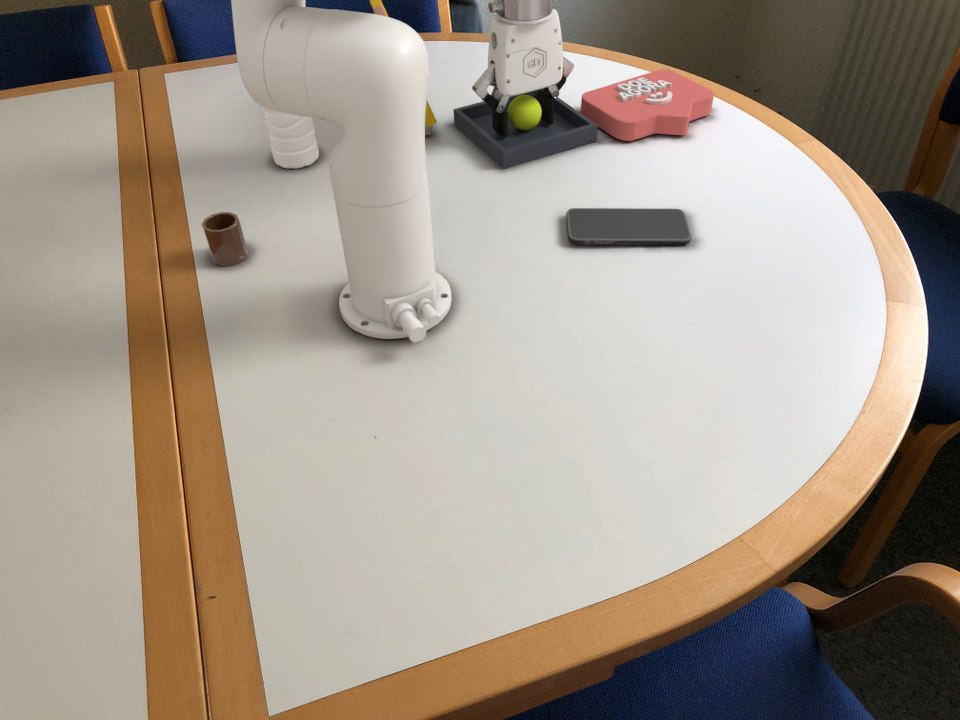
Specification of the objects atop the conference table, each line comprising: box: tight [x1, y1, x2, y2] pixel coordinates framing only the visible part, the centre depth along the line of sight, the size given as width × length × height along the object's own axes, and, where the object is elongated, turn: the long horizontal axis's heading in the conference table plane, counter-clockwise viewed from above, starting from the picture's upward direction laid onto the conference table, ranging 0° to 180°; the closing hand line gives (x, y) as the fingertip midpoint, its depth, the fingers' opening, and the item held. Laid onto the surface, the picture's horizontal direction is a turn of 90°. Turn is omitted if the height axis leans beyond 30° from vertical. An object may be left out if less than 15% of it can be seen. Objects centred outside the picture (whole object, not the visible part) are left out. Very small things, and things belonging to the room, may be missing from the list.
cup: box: [201, 211, 249, 267], centre depth 96 cm, size 4×4×5 cm
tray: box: [453, 89, 599, 170], centre depth 118 cm, size 16×16×3 cm
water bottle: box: [261, 106, 320, 170], centre depth 107 cm, size 9×6×25 cm
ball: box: [508, 95, 542, 130], centre depth 117 cm, size 5×5×5 cm
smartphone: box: [565, 207, 692, 246], centre depth 99 cm, size 7×1×15 cm
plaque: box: [580, 69, 715, 142], centre depth 120 cm, size 18×4×15 cm
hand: (523, 126), depth 118 cm, fingers open, 7 cm apart
